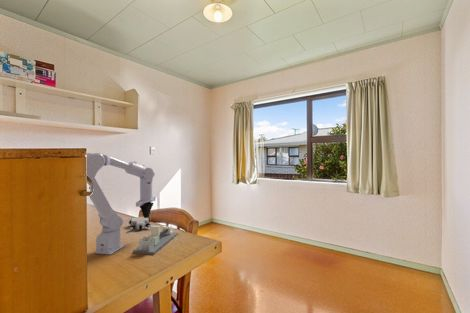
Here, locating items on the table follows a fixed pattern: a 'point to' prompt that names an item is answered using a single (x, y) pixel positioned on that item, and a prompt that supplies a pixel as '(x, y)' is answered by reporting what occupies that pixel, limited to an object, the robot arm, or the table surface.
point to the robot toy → (139, 223)
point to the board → (162, 242)
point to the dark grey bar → (163, 232)
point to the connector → (146, 244)
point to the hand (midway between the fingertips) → (146, 217)
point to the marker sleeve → (155, 234)
